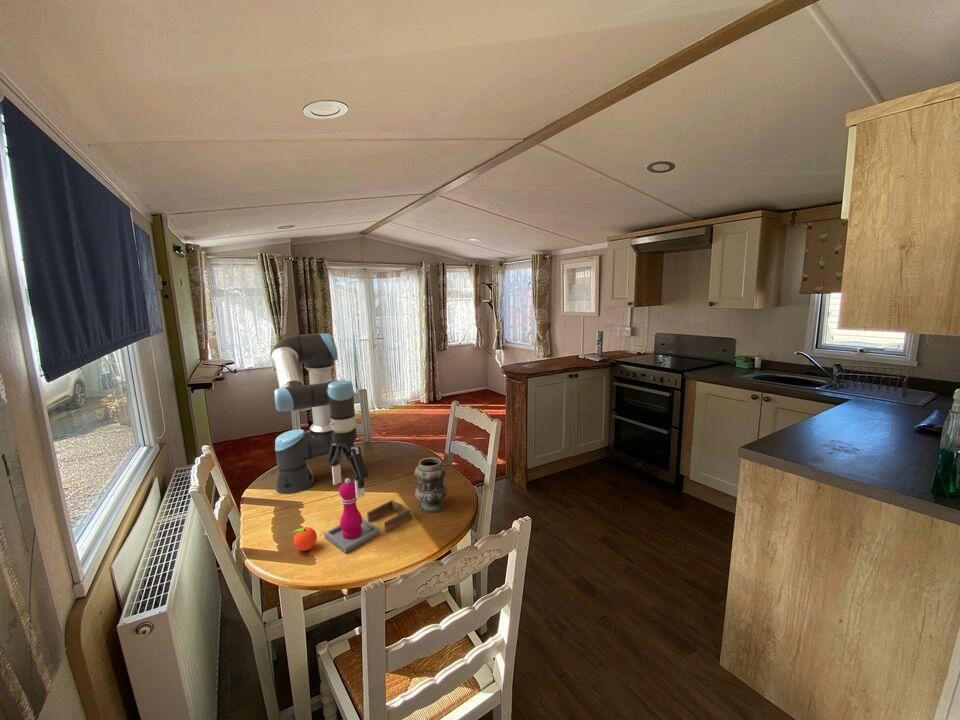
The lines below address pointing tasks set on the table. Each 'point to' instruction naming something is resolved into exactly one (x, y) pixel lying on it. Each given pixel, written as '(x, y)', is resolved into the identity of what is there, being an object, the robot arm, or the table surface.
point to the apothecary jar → (430, 485)
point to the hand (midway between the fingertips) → (348, 489)
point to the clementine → (305, 538)
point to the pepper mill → (350, 511)
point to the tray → (349, 544)
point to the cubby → (387, 507)
